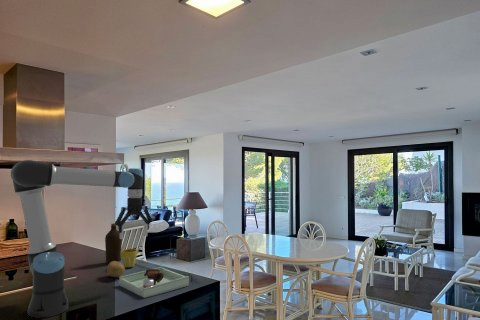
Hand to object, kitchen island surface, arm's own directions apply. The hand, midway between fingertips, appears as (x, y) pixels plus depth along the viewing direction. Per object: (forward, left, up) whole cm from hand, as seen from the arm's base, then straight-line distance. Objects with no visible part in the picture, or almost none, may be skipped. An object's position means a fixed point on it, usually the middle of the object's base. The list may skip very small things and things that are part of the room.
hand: (133, 237), depth 178 cm
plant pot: (+15, +36, -26) cm, 47 cm away
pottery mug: (+7, -9, -26) cm, 28 cm away
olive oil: (+13, +54, -26) cm, 61 cm away
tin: (-1, -17, -25) cm, 30 cm away
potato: (0, +21, -26) cm, 33 cm away
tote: (+7, -8, -25) cm, 28 cm away
